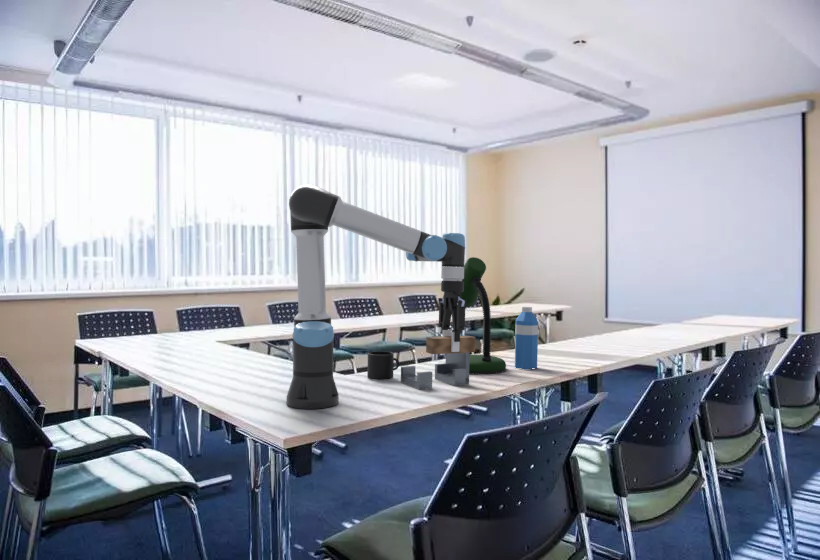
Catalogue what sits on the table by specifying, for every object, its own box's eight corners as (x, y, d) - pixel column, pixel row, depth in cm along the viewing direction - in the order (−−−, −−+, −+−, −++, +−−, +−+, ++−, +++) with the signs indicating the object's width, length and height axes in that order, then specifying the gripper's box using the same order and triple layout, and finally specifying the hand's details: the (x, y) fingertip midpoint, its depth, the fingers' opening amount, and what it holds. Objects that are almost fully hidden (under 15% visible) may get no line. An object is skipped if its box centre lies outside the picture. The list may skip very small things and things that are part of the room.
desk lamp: (430, 362, 237) (432, 257, 236) (476, 360, 246) (478, 258, 245) (465, 376, 209) (467, 256, 208) (516, 372, 218) (518, 257, 217)
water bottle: (510, 366, 232) (511, 306, 231) (530, 365, 234) (531, 306, 234) (521, 370, 223) (522, 307, 222) (541, 369, 226) (543, 307, 225)
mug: (403, 379, 202) (404, 354, 202) (372, 381, 197) (372, 355, 197) (394, 374, 211) (394, 350, 210) (364, 376, 206) (364, 351, 206)
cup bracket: (454, 386, 191) (455, 351, 191) (434, 379, 202) (435, 346, 202) (469, 384, 194) (469, 350, 194) (448, 377, 205) (449, 345, 205)
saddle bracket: (419, 389, 184) (419, 373, 184) (400, 382, 195) (400, 366, 195) (432, 388, 186) (432, 372, 186) (413, 381, 198) (413, 365, 198)
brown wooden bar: (432, 354, 179) (432, 338, 179) (426, 352, 183) (426, 337, 183) (474, 352, 186) (475, 337, 186) (467, 350, 190) (468, 335, 190)
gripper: (477, 281, 178) (475, 353, 178) (447, 279, 194) (445, 346, 194) (458, 280, 174) (456, 355, 175) (429, 279, 190) (427, 347, 190)
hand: (450, 350), depth 184 cm, fingers closed on brown wooden bar, 5 cm apart
